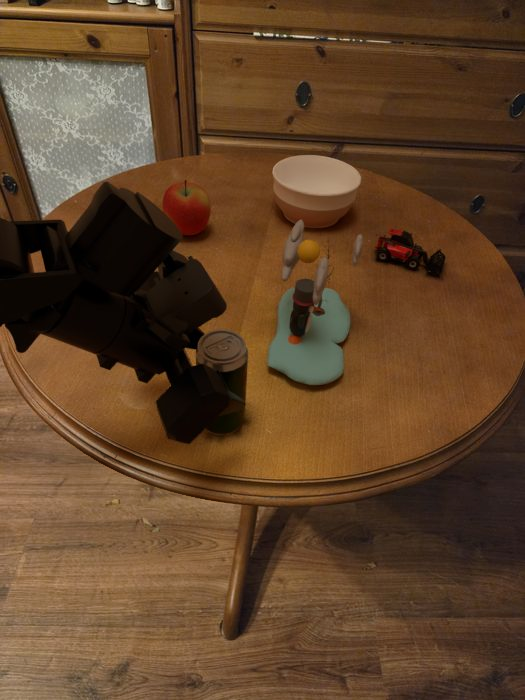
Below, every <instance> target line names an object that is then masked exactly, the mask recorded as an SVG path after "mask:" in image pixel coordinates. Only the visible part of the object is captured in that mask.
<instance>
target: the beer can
mask: <svg viewBox="0 0 525 700" xmlns="http://www.w3.org/2000/svg"><path fill="white" fill-rule="evenodd" d="M248 360H249V349H248V348H247V342H246V340H245V338H244V337H243V336H242V335H241V334H239V333H238V332H236V331H234V330H231V329H223V328H222V329H221V328H220V329H219V328H218V329H214V330H209V331H208V332H206V333H205V334H204V335H203V336H202V337H201V338H200V340H199V342H198V347H197V349H196V350H195V365H199V364H204V365H207V366H209V367H211V368H212V369H213V370H214V371H215V372H216V371H217V370H219V372H220V374H221V376H222V378H223V380H224V382H225V384H226V386H227V388H228V390H229V391H230V392H232V393H234V394H235V395H237V396H239V397H240V398H241V399H243V400H244V401H245V403H246V404H247V401H246V400H247V386H248V385H247V382H248V368H249V367H248V365H249V364H248V363H249V361H248ZM245 419H246V405H245V406H244V407H243V408H242V409H241V410H239V411H236V412H232V413H229V414H225V415H221V416H218V417H217V418H216V419H215V420H214V421H213V422H212V423H211V424H210V425H209V426H208V427H207V428H206V429H205V431H206V432H209V433H210V434H212V435H214V436H228V435H232V434H233V433H235V432H236V431H238V430H239V428H240V427H241V426H242V425H243V424H244V421H245Z"/></svg>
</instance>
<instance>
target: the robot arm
mask: <svg viewBox="0 0 525 700" xmlns="http://www.w3.org/2000/svg"><path fill="white" fill-rule="evenodd" d="M183 236H184V235H182V234H181V232H180V230H179V229H178V228H177V226H176V225H175V224H174V223H173V222H172V220H171V219H170V218H169V217H168V216H167V215H166V214H165V213H164V212H163V209H161V208H160V207H159V206H158V205H156V204H155V203H154V202H152V201H151V200H150V199H149V198H147V197H146V196H145V195H143V194H141V192H139V191H136V193H135V192H134V191H132V190H130V189H128V188H126V187H119V188H118V187H116V186H115V185H113V183H111V182H109V181H103V182H102V184H100V186H99V187H98V188H97V190H96V191H95V192H94V194H93V196H92V199H91V201H90V203H89V205H88V206H87V208H86V209H85V210H84V211H83V213H82V214H81V216H80V217H79V218H78V219H77V220H76V222H75V223H74V224H73V225H72V227H71V228H70V229H69V230H68V229H67V225H66V223H65V221H64V220H63V219H36V220H35V219H34V220H32V219H31V220H10V221H9V220H7V219H5V218H3V217H0V328H2V327H3V325H4V327H5V328H6V329H7V331H8V332H9V334H10V336H11V337H12V340H13V343H14V345H15V350H16V352H18V353H19V354H25V353H26V352H27V351H28V350H29V348H30V347H31V346H32V345H33V344H34V342H35V341H36V340H37V339H38V338H39V336H40V335H42V336H45V337H48V338H51V339H53V340H56V341H58V342H61V343H64V344H67V345H69V346H72V347H75V348H77V349H80V350H83V351H86V352H88V353H90V354H93V355H96V358H97V360H98V365H99V367H100V368H102V369H104V370H107V371H111V370H112V369H113V368H114V367H115V365H116V364H117V363H118V364H119V365H122V366H125V367H128V368H131V369H133V370H134V372H135V376H136V378H137V381H138V382H140V383H144V384H149V382H150V381H151V380H152V379H153V378H154V377H155V376H156V375H158V376H161V375H162V374H163V373H165V375H166V377H167V380H168V383H169V384H170V385H169V386H168V388H166V390H165V391H164V392H163V393H162V394H161V395H160V396H159V397H158V398H157V399H156V400H155V405H156V406H155V407H156V411H157V415H158V417H159V419H160V422H161V425H162V427H163V430H164V433H165V436H166V438H167V440H170V441H173V442H177V443H181V444H186V445H190V444H191V443H193V442H194V441H195V439H197V438H198V437H199V436H200V434H202V433H203V432H204V431H206V428H207V427H208V426H209V425H210V424H211V423H212V422H213V421H214V420H215V419H216V418H217V417H218V416H221V415H225V414H229V413H232V412H236V411H239V410H241V409H242V408H243V407H244V406H245V407H246V405H247V402H246V403H245V401H244V400H243V399H241V398H240V397H239V396H237V395H235V394H234V393H232V392H230V391H229V390H228V388H227V386H226V384H225V382H224V380H223V378H222V376H221V374H220V372H219V370H217V371H216V372H215V371H214V370H213V369H212V368H211V367H209V366H207V365H204V364H199V365H196V364H195V365H193V363H192V361H191V359H190V357H189V355H188V352H187V350H186V349H188V350H189V349H190V350H194V351H196V349H197V347H198V342H199V340H200V338H201V337H202V336H203V335H204V334H206V333H205V332H204V331H203V330H202V329H201V328H200V327H201V326H203V325H205V324H206V323H208V322H210V321H211V320H213V319H217V318H219V317H221V316H222V315H223V314H224V313H225V312H226V311H227V307H228V305H227V302H226V301H225V299H224V297H223V296H222V293H221V292H220V290H219V289H218V287H217V286H216V284H215V282H214V281H213V280H212V277H211V276H210V275H209V273H208V272H207V270H206V268H205V266H204V265H203V263H201V261H200V260H198V259H197V258H194V256H192V255H189V256H185V255H184V254H181V253H180V252H177V251H176V250H174V249H175V248H176V247H177V246H178V245H179V244H180V242H181V241H182V240H183ZM38 252H40V253H41V258H42V263H43V266H44V269H45V271H39V272H35V268H34V264H33V258H32V254H35V253H38Z"/></svg>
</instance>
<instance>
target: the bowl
mask: <svg viewBox="0 0 525 700" xmlns="http://www.w3.org/2000/svg"><path fill="white" fill-rule="evenodd" d="M271 173H272V176H273V187H272V189H273V196H274V200H275V202H276V205H277V206H278V207H279V209H280V210H281V211H282V212H283V213H282V214H283V215H284V217H285V219H286V220H288V221H289V222H291V223H292V224H294V225H295V224H296V223H297V222H298V221H299V220H302V221H303V222H304V228H308V229H324V228H328V227H331V226H334V225H335V224H336V223H338V221H339V220H340V219H341V218H342V217H344V216H345V215H346V214H347V213H348V212H349V211H350V209H351V208H352V207H353V205H354V202H355V200H356V197H357V191H358V188H359V187H360V186H361V184H362V183H361V182H362V177H361V174H360V172H359V171H358V170H357V169H356V168H355V167H353V166H352V165H351V164H349V163H347V162H345V161H342V160H339V159H337V158H335V157H334V158H333V157H329V156H323V155H315V154H301V155H294V156H289V157H286V158H284V159H281V160H279V161H278V162H277V163H275V164H274V166H273V168H272V172H271Z"/></svg>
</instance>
